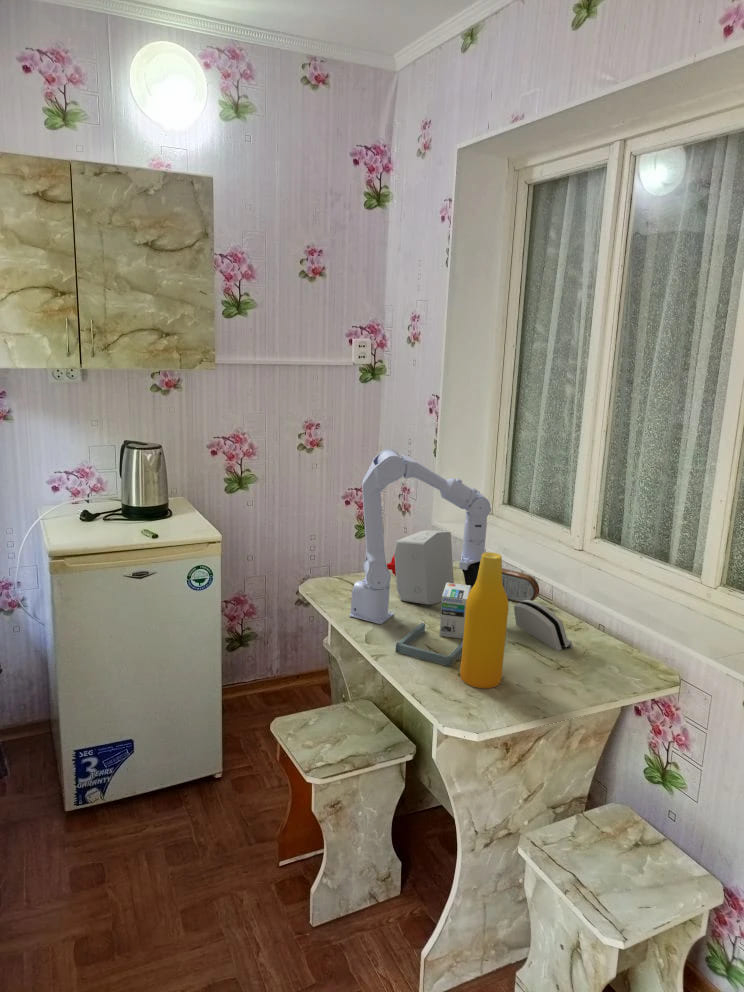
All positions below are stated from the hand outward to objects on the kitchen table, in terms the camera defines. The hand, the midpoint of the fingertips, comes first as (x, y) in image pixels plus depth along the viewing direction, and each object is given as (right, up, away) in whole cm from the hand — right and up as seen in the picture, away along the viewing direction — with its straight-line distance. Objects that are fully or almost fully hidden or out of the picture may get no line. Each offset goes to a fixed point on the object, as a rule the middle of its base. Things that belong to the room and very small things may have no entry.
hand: (470, 587), depth 201 cm
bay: (-11, -12, -17) cm, 23 cm away
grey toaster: (+16, -12, -8) cm, 22 cm away
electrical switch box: (-13, -4, +16) cm, 21 cm away
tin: (+14, -6, +16) cm, 22 cm away
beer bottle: (-2, -17, -32) cm, 36 cm away
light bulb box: (-5, -10, -7) cm, 13 cm away
